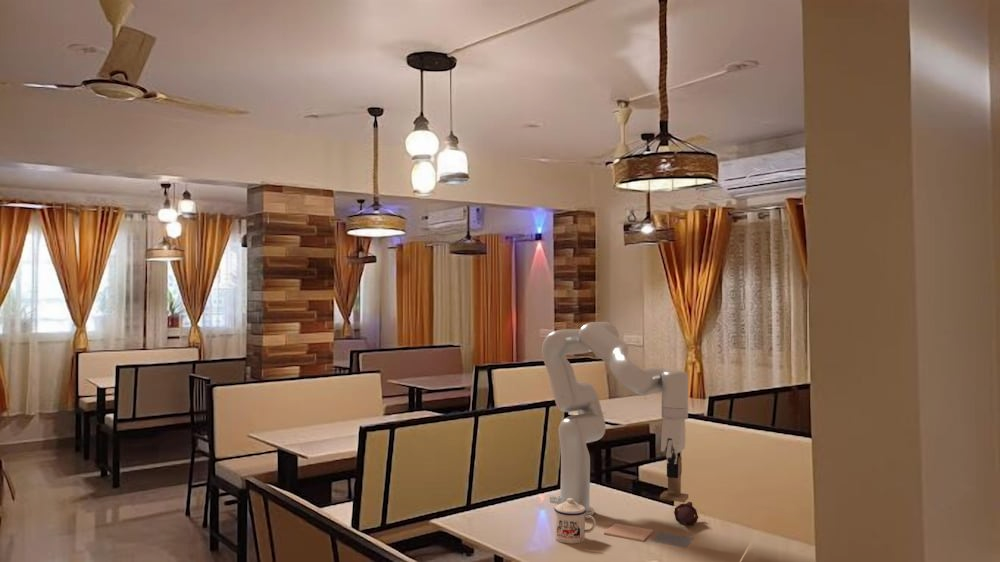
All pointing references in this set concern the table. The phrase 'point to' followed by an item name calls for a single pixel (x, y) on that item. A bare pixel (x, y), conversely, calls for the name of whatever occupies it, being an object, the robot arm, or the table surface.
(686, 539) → the mat
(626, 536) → the tile
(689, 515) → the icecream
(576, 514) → the teacup with lid
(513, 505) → the table surface
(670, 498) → the wooden post with base
